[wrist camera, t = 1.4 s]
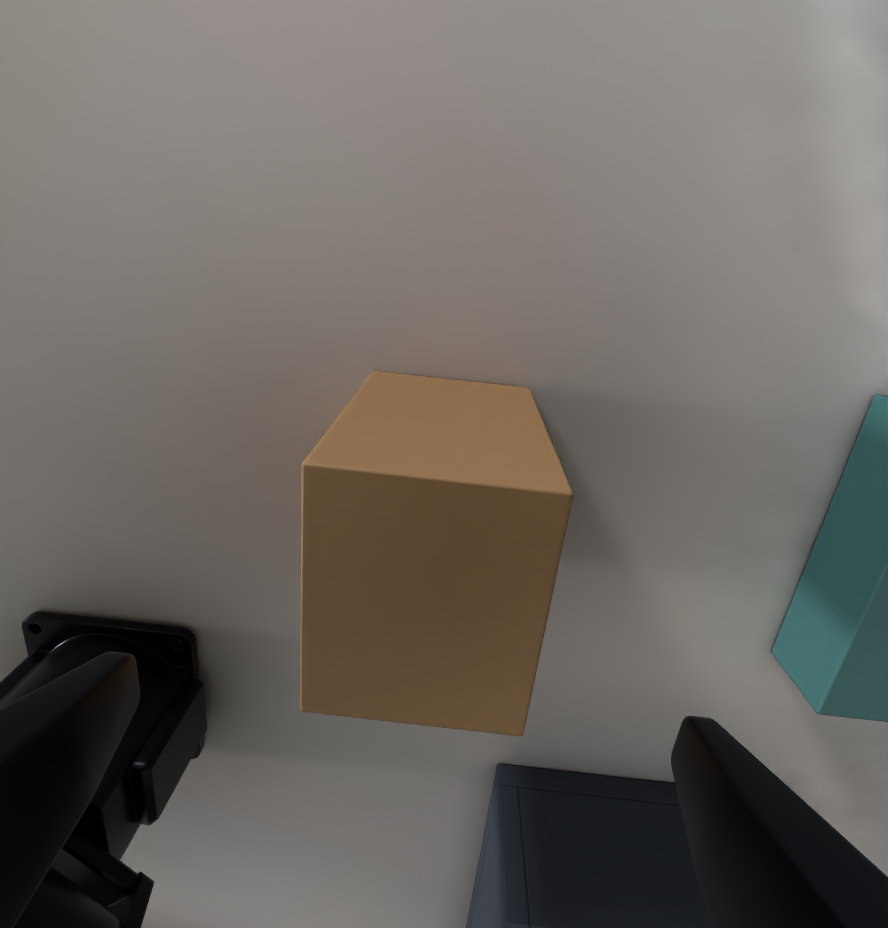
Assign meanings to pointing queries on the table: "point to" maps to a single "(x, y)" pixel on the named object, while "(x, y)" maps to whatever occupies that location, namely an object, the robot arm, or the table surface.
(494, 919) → the basin
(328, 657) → the carton
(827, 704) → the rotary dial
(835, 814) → the table surface
